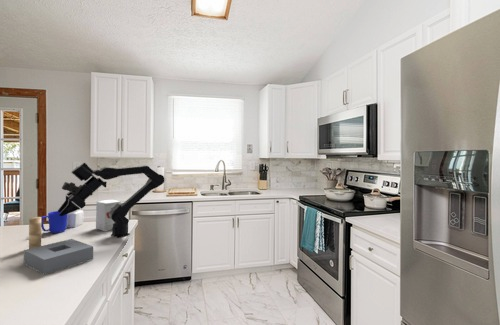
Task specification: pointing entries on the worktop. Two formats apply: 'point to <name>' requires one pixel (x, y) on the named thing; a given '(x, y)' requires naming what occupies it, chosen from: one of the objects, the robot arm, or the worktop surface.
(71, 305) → the worktop surface
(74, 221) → the container
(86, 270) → the worktop surface
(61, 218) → the mug
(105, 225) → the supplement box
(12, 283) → the worktop surface
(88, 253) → the socket block
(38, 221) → the pin
